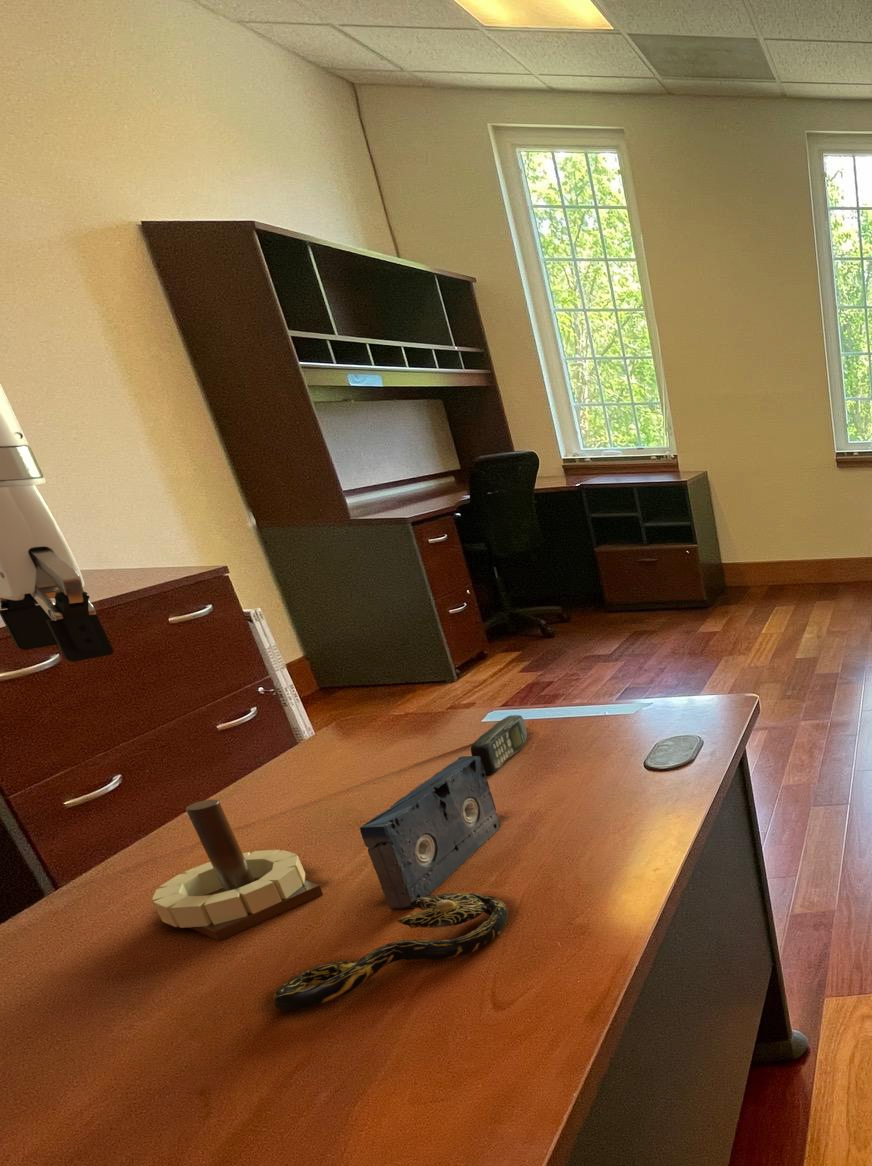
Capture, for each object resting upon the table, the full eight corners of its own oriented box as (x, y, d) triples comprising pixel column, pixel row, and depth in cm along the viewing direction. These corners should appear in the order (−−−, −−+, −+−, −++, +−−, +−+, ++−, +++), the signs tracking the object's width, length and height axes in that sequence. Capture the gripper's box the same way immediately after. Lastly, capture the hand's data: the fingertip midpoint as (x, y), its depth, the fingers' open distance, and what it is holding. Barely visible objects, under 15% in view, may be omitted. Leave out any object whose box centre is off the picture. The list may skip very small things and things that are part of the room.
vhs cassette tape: (481, 826, 99) (460, 755, 95) (506, 826, 100) (485, 754, 96) (384, 911, 83) (352, 828, 79) (413, 910, 83) (384, 827, 79)
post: (171, 919, 81) (117, 815, 76) (275, 876, 89) (232, 779, 84) (219, 941, 78) (167, 833, 73) (323, 894, 85) (282, 794, 81)
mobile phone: (487, 745, 111) (528, 707, 125) (463, 746, 111) (507, 708, 124) (496, 776, 113) (536, 735, 127) (473, 778, 113) (515, 736, 126)
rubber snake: (256, 979, 65) (267, 931, 72) (274, 1026, 66) (283, 974, 74) (509, 908, 76) (496, 872, 83) (520, 950, 77) (506, 911, 84)
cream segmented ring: (139, 912, 80) (129, 892, 79) (268, 860, 89) (260, 842, 88) (200, 938, 76) (189, 917, 75) (328, 881, 86) (320, 862, 85)
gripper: (-131, 468, 71) (-31, 651, 78) (-47, 475, 65) (54, 673, 71) (-6, 463, 77) (76, 633, 84) (81, 469, 71) (162, 652, 78)
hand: (66, 651), depth 78 cm, fingers open, 9 cm apart
